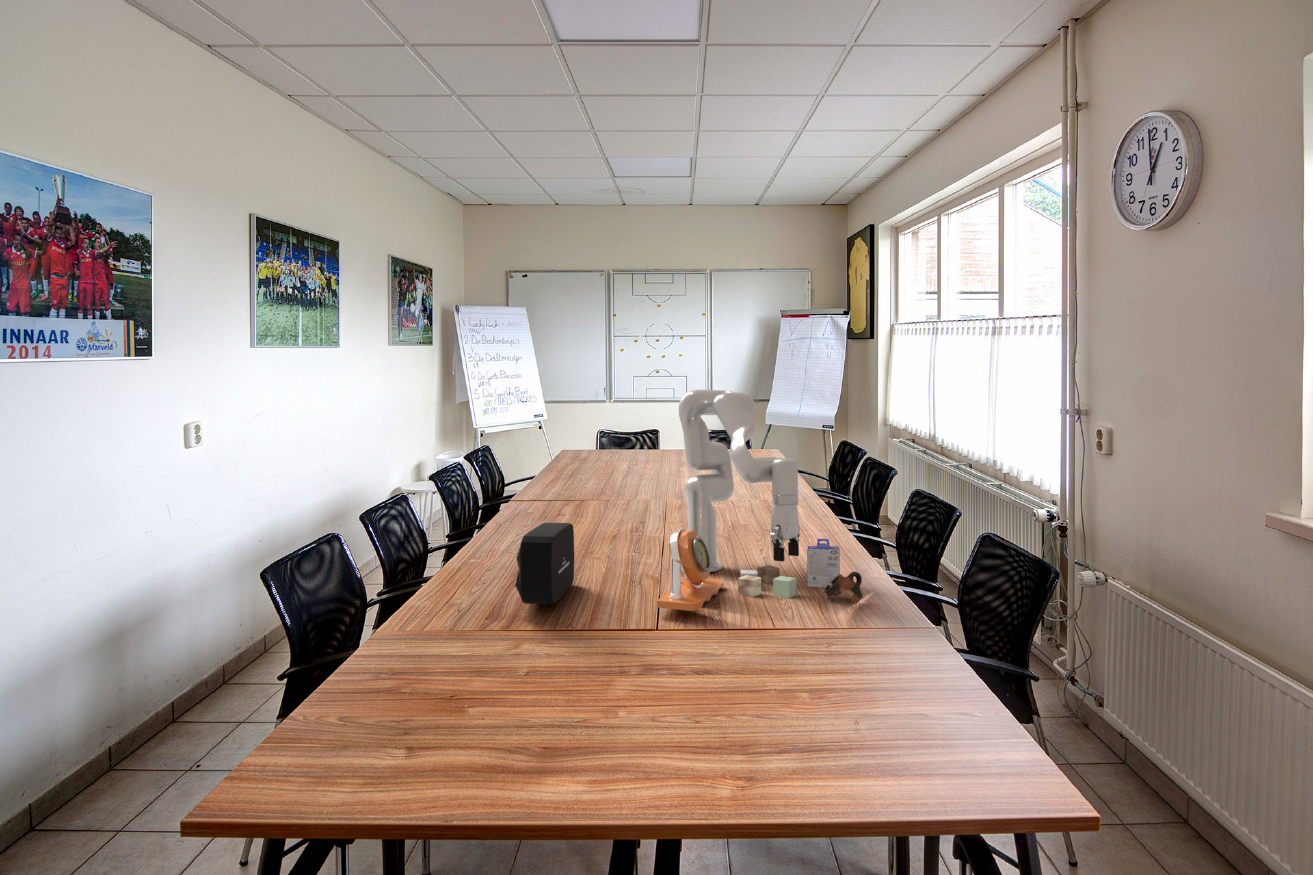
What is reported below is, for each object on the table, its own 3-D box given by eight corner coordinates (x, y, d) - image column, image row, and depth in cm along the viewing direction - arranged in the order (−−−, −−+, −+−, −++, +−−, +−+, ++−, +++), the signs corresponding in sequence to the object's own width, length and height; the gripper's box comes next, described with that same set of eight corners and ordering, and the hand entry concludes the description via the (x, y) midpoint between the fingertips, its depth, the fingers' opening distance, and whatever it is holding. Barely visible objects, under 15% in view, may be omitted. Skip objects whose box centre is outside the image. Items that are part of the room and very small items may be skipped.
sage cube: (773, 595, 208) (773, 579, 208) (780, 592, 213) (780, 575, 212) (788, 598, 206) (788, 581, 205) (796, 594, 210) (796, 578, 209)
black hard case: (552, 609, 195) (551, 537, 194) (508, 608, 196) (507, 536, 196) (575, 582, 225) (574, 520, 224) (537, 582, 226) (536, 520, 226)
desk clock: (655, 609, 195) (654, 536, 194) (688, 584, 223) (688, 520, 222) (697, 613, 190) (697, 539, 190) (726, 587, 218) (726, 522, 218)
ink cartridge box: (839, 584, 222) (839, 538, 221) (840, 588, 216) (840, 541, 216) (807, 583, 224) (807, 537, 223) (807, 587, 218) (807, 540, 218)
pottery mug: (851, 612, 196) (830, 590, 197) (837, 616, 205) (816, 596, 206) (876, 581, 201) (854, 561, 202) (861, 587, 209) (840, 567, 211)
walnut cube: (756, 582, 225) (757, 566, 225) (768, 580, 228) (768, 564, 228) (767, 585, 221) (767, 569, 221) (779, 583, 224) (779, 567, 224)
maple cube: (738, 594, 210) (738, 578, 210) (746, 591, 214) (746, 575, 214) (753, 597, 207) (753, 580, 207) (761, 593, 211) (761, 577, 211)
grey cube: (740, 589, 216) (740, 573, 216) (740, 585, 221) (740, 569, 221) (757, 589, 216) (757, 573, 215) (756, 585, 221) (756, 570, 220)
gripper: (786, 497, 217) (787, 552, 217) (760, 502, 203) (761, 561, 203) (809, 498, 213) (810, 554, 213) (784, 503, 199) (785, 564, 199)
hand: (786, 558), depth 208 cm, fingers open, 9 cm apart
